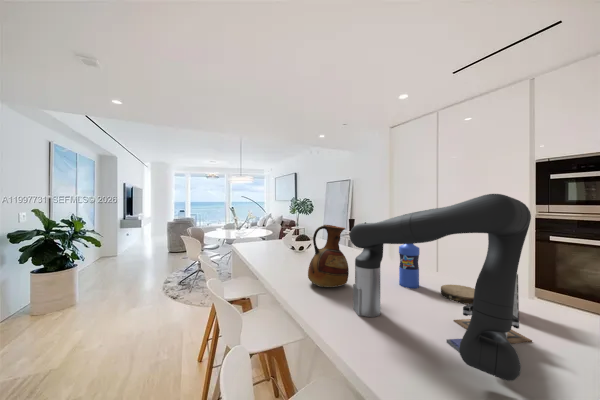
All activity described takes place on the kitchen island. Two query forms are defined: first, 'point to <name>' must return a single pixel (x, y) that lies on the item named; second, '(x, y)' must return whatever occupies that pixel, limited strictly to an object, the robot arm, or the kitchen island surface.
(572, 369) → the kitchen island surface
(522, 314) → the kitchen island surface
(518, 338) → the marked board
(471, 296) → the tan flat ringed disc
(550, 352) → the kitchen island surface
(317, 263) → the ceramic pitcher
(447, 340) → the ink pad
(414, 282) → the water bottle
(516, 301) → the candy bar box
